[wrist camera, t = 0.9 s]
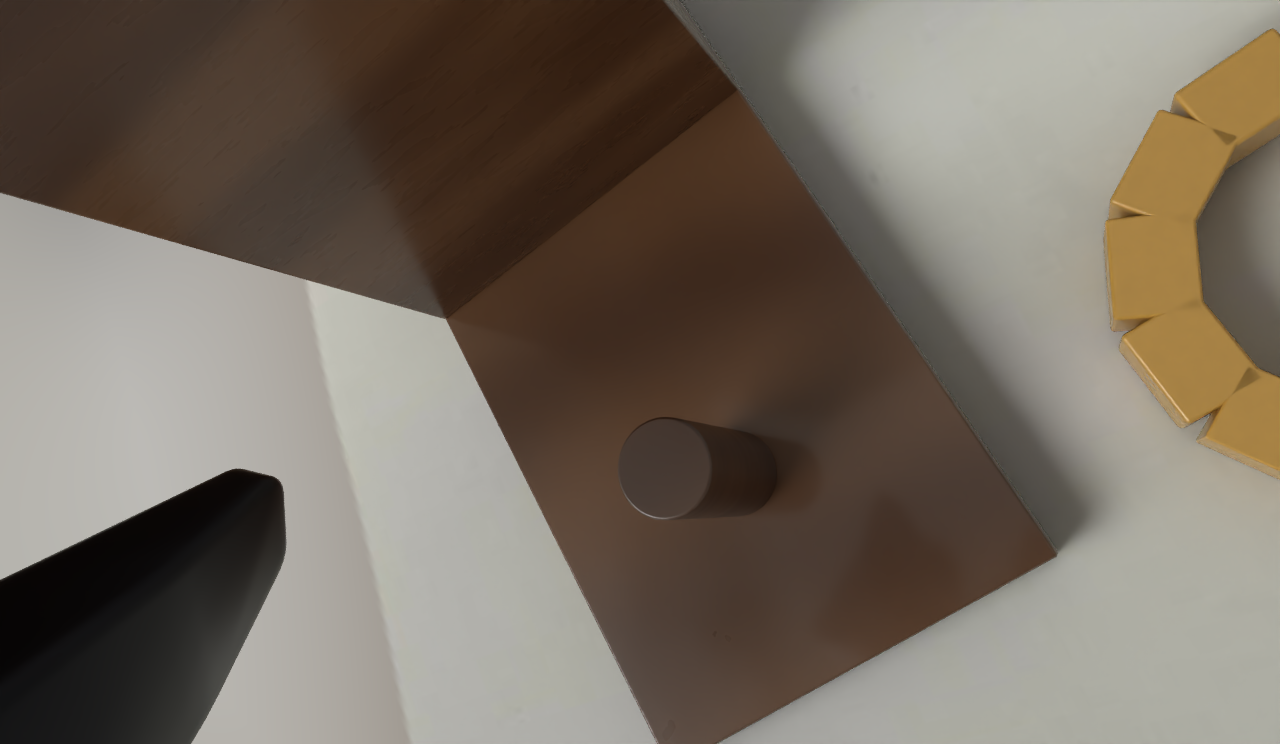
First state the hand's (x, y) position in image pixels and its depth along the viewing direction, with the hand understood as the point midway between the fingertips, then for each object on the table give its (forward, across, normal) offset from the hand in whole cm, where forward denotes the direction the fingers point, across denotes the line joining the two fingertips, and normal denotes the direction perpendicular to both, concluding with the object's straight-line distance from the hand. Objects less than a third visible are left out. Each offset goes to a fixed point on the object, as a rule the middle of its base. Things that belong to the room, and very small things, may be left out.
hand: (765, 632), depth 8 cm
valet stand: (+15, +2, +6) cm, 17 cm away
